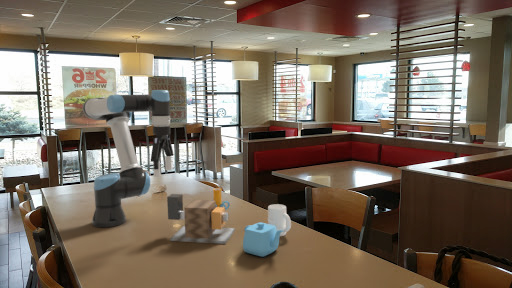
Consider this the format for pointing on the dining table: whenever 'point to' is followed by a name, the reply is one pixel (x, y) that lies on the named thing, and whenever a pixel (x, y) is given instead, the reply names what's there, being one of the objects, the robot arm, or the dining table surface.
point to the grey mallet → (181, 208)
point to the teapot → (261, 239)
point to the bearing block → (201, 225)
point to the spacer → (217, 218)
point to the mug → (279, 218)
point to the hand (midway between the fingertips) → (163, 173)
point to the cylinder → (219, 198)
